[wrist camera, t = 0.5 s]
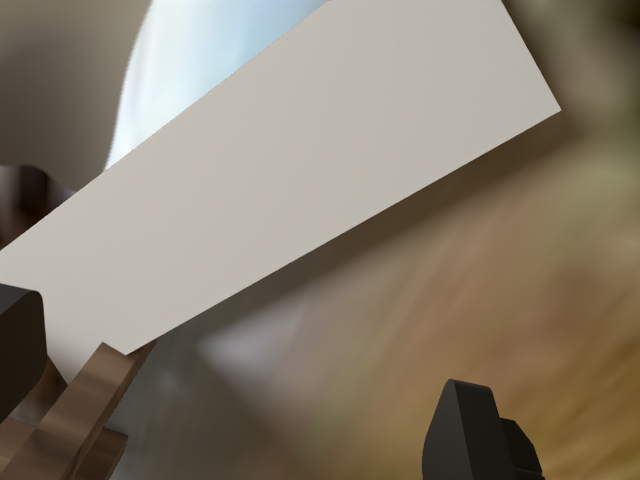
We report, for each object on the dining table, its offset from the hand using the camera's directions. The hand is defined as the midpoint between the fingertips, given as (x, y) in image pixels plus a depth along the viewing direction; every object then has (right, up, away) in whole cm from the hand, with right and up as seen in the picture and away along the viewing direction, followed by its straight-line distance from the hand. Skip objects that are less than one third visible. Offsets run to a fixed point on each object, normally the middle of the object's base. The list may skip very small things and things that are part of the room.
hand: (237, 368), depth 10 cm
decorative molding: (-3, +6, +22) cm, 23 cm away
